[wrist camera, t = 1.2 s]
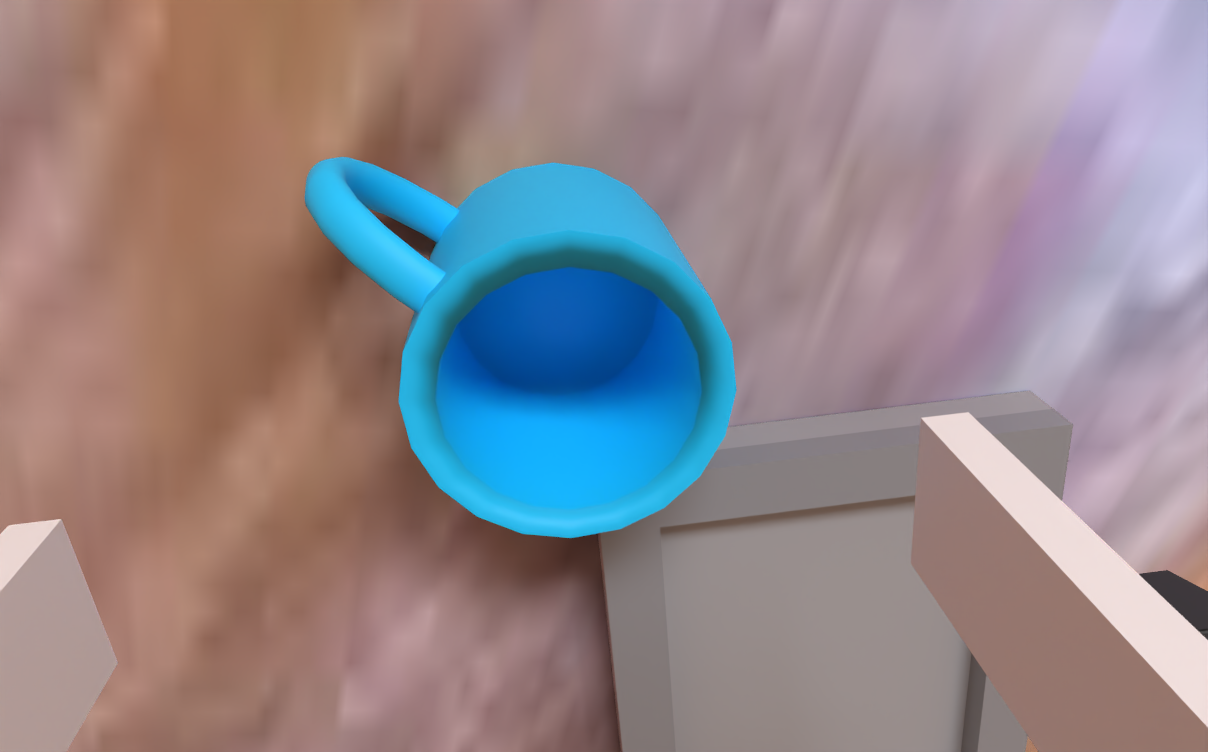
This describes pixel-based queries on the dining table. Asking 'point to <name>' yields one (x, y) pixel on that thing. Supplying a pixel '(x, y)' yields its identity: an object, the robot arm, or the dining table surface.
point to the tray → (806, 594)
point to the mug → (542, 342)
